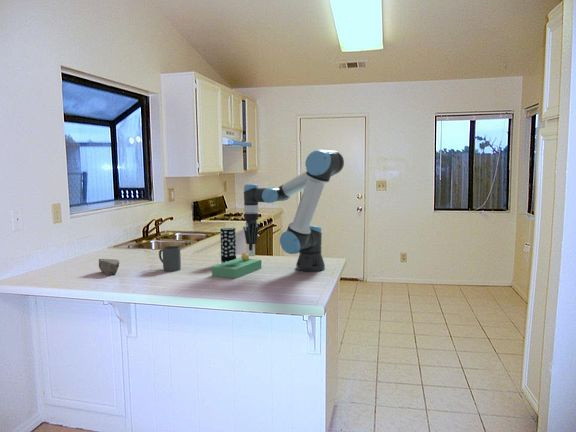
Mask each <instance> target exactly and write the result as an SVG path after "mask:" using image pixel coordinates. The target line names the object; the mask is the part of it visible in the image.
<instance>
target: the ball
mask: <svg viewBox="0 0 576 432" xmlns="http://www.w3.org/2000/svg"><path fill="white" fill-rule="evenodd" d="M240 258H242V260H244V261H246V260H248V259H250V256H249V253H247V252H244V253H242V254H241V257H240Z"/></svg>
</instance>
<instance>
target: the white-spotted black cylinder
mask: <svg viewBox="0 0 576 432" xmlns="http://www.w3.org/2000/svg"><path fill="white" fill-rule="evenodd" d="M219 231H220V232H219V233H220V259H221V260H220V264H222V263H225V262H228V261H231V260H234V259H237V244H236V243H237V241H236V238H237V237H236V235H237V234H236V232H237V231H236V228H235V227H223V228H220V230H219Z"/></svg>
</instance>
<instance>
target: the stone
mask: <svg viewBox="0 0 576 432" xmlns="http://www.w3.org/2000/svg"><path fill="white" fill-rule="evenodd" d="M119 266H120V260H119V259H111V258H110V259H109V258H98V268H99V270H100V272H101V273H104V274H105V276H107V277H110V276H116V274H117V272H118V269H119Z"/></svg>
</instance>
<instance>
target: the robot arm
mask: <svg viewBox="0 0 576 432" xmlns="http://www.w3.org/2000/svg"><path fill="white" fill-rule="evenodd" d="M304 163H305V169H306V171H304V172H302V173H301V174H299V175H297V176H295V177H293V178H292V179H290V180H288V181H286V182H285V183H283V184H281V185H279V186H276V187H259V186H258V184H257V183H248V184H247V183H246V184H244V185H243V201H244V202H243V203H244V204H243V206H244V207H243V209H244V210H243V212H244V213H243V215H244V217H243V218H244V219H243V220H244V221H245V226H243V227H242V228H243V231H244V237H245V244H246V245H248V255H249V257H255V255H256V251H255V250H256V249H255V247H256V244H257V242H258V236H259V228H260V224H258V223H257V221H258V220H259V203H265V204H266V203H267V204H272V203H275V202H284V201H285V202H286V201H287V200H289V199H290V198H291V197H292V196H293V195H296V194H297V193H299V192H301V191H303V192H302V194H301V197H300V200H299V204H298V205H297V206H298V207H297V209H296V212H295V214H294V218H293V220H292V222H290V223H289V224H288V226H287V228H286V229H287V230H286V231H283V232H282V233H281V235H280V237H279V243H280V244H279V245H280V246H281V249H282V250H283V252H285V253H287V254H289V255H294V254H295V255H296V254H298V258H297V260H296V265H295V266H296V267H295V268H296V269H297V271H301V272H318V271H319V272H320V271H324V270H325V268H326V264H325V261H324V258H323V255H322V234H323V232H322V228H321V226H318V225H311V223H312V221H313V218H314V215H315V214H316V213H315V212H316V210H317V207H318V203H319V201H320V199H321V196H322V192H323V190H324V187H325V184H327V183H329V182H330V179H331V178H332V177H333V176H335V175H338V174H339V173H340V172H341V171H342V170H343V168H344V166H345V159H344V157H343V155H342V154H341V153H340V152H339V151H337V150H327V149H316V150H313V151H311V152H310V153H309V154H308V156H307V157H306V159H305V162H304Z"/></svg>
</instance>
